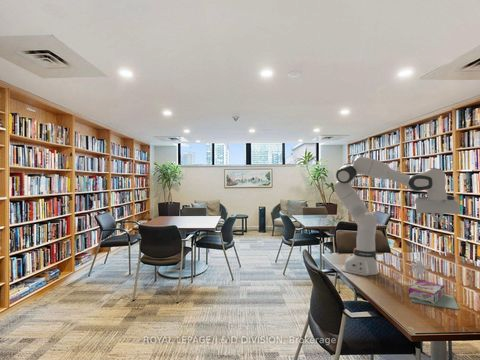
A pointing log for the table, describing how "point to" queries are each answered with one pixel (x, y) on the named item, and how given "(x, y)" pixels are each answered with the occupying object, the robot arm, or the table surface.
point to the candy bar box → (426, 291)
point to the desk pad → (441, 302)
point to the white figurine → (419, 269)
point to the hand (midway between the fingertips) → (437, 221)
